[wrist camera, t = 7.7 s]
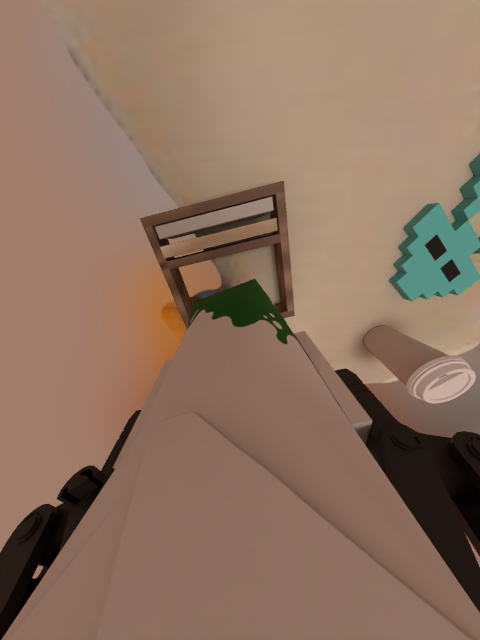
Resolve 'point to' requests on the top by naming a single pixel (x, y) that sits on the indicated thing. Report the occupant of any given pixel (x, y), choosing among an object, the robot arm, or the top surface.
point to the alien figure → (440, 247)
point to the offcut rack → (277, 238)
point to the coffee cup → (420, 365)
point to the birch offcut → (219, 238)
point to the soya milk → (247, 512)
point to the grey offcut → (215, 219)
